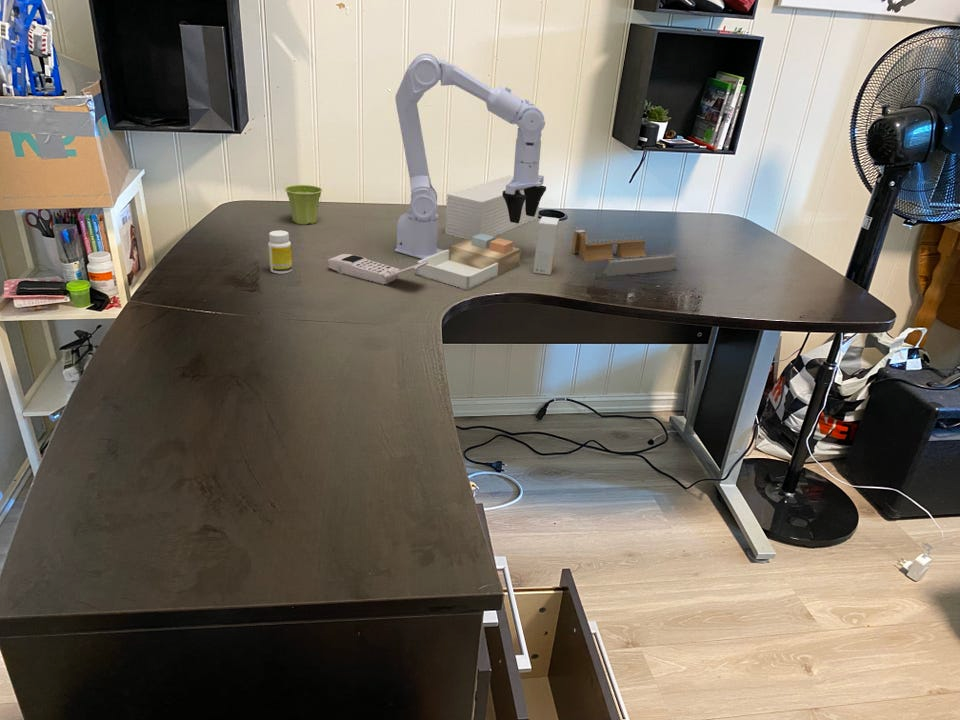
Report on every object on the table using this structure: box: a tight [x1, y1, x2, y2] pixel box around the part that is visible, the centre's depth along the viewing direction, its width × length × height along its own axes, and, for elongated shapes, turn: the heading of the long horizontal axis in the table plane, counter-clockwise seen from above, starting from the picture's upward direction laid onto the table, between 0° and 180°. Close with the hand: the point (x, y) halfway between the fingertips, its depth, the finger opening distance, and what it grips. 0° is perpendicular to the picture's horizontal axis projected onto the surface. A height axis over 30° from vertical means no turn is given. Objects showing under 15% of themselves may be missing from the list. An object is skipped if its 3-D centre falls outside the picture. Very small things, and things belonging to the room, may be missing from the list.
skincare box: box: [532, 215, 560, 276], centre depth 163 cm, size 6×4×12 cm
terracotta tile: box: [489, 237, 514, 254], centre depth 164 cm, size 4×4×2 cm
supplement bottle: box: [267, 230, 293, 275], centre depth 152 cm, size 5×5×8 cm
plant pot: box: [284, 184, 323, 225], centre depth 185 cm, size 9×9×9 cm
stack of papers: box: [444, 175, 540, 240], centre depth 194 cm, size 32×11×11 cm, turn 148°
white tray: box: [415, 249, 498, 291], centre depth 158 cm, size 14×12×3 cm
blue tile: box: [471, 234, 496, 249], centre depth 166 cm, size 4×4×2 cm
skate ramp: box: [571, 226, 677, 277], centre depth 177 cm, size 29×35×8 cm
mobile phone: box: [327, 253, 428, 285], centre depth 153 cm, size 6×6×25 cm
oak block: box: [449, 238, 522, 277], centre depth 166 cm, size 13×10×4 cm
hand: (522, 219), depth 168 cm, fingers open, 7 cm apart
